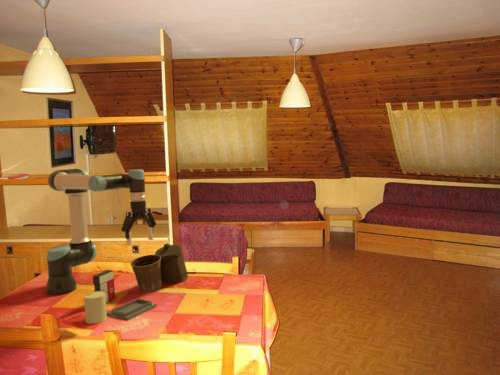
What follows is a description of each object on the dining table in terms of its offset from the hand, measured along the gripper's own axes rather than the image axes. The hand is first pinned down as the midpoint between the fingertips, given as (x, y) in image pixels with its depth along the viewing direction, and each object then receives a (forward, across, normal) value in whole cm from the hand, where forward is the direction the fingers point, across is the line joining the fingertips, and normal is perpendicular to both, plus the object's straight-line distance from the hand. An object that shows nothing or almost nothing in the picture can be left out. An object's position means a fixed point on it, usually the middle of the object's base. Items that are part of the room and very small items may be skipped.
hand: (140, 242), depth 209 cm
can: (+29, -29, -2) cm, 41 cm away
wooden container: (+28, +28, +6) cm, 40 cm away
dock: (+29, -13, -8) cm, 33 cm away
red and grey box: (+30, -13, +14) cm, 35 cm away
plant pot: (+29, +12, +8) cm, 32 cm away
